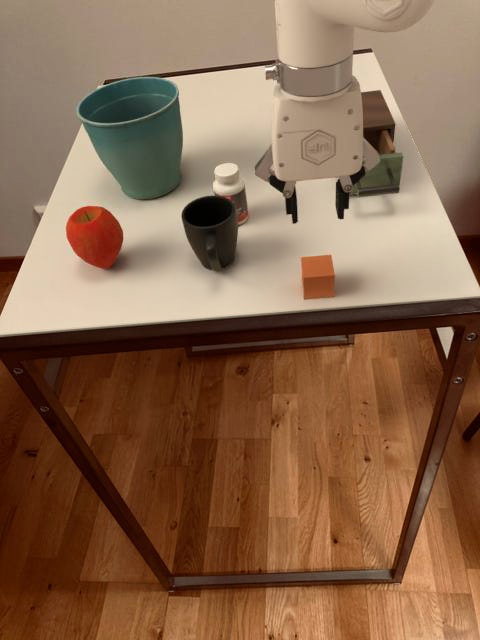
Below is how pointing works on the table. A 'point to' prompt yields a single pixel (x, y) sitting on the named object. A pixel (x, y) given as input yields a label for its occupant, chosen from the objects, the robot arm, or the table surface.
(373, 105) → the cabinet
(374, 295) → the table surface
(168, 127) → the flower pot
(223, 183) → the pill bottle
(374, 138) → the drawer
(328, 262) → the block
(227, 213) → the mug
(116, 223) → the apple
